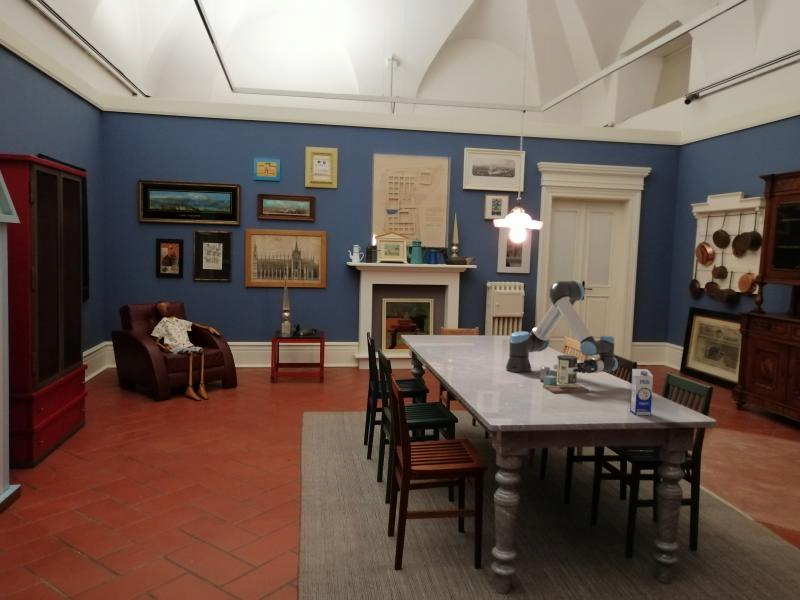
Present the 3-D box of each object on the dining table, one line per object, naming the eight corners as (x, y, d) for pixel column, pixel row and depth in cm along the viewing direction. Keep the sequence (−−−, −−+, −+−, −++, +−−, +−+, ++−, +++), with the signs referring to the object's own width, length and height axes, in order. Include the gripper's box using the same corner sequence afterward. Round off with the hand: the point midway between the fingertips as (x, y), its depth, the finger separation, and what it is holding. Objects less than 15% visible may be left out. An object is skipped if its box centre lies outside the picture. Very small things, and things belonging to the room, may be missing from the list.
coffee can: (575, 381, 307) (576, 355, 306) (577, 385, 297) (578, 359, 296) (555, 380, 309) (556, 354, 308) (556, 384, 299) (557, 357, 298)
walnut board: (542, 387, 308) (543, 385, 308) (577, 386, 312) (577, 384, 312) (553, 393, 295) (553, 391, 295) (589, 392, 299) (589, 390, 299)
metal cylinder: (538, 380, 324) (539, 366, 323) (546, 380, 325) (547, 366, 324) (542, 382, 319) (543, 368, 318) (550, 382, 320) (551, 368, 319)
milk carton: (645, 411, 264) (647, 368, 262) (651, 416, 257) (653, 372, 255) (629, 411, 264) (632, 368, 262) (635, 415, 257) (637, 371, 255)
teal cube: (543, 385, 314) (543, 376, 314) (550, 384, 316) (551, 375, 316) (549, 387, 310) (549, 377, 309) (556, 386, 312) (557, 377, 311)
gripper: (608, 376, 300) (575, 380, 291) (577, 368, 321) (546, 371, 311) (608, 362, 300) (576, 365, 290) (578, 355, 320) (546, 357, 310)
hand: (560, 368), depth 301 cm, fingers closed on coffee can, 10 cm apart
